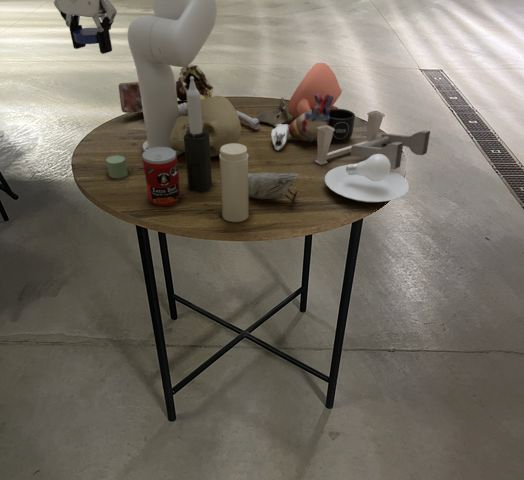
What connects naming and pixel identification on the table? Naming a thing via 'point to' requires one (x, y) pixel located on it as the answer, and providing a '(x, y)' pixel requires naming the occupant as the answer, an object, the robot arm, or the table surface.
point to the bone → (249, 120)
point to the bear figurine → (199, 80)
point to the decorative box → (130, 97)
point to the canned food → (162, 176)
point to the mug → (341, 124)
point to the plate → (366, 186)
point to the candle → (197, 144)
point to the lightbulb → (371, 167)
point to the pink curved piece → (314, 89)
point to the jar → (234, 182)
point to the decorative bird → (270, 185)
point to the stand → (117, 166)
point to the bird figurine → (279, 135)
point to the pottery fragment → (274, 115)
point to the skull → (211, 125)
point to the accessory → (306, 145)
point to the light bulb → (185, 107)
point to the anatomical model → (312, 119)
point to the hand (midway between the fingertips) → (93, 49)
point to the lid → (86, 35)
